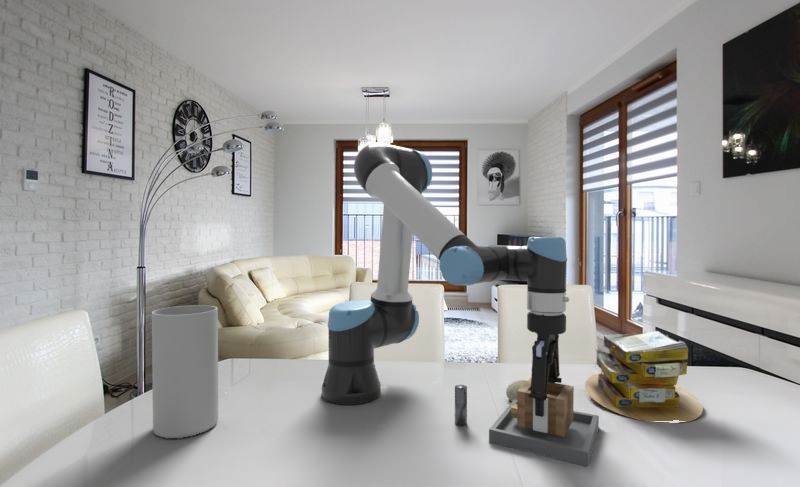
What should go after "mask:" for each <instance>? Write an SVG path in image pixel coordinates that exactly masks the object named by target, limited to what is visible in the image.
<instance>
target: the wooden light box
mask: <svg viewBox="0 0 800 487" xmlns="http://www.w3.org/2000/svg"><path fill="white" fill-rule="evenodd" d="M574 388H575V386H574V385H569V384H564V383H557V382H555V383H553V382H548V389H547V398H548V433H551V434H555V435H559V436H563V437H564V436H565V434H566V432H567V430H568V428H569V427H570V425H571V423H572V421H573V411H574V399H575V398H574V396H575V395H574V392H575V391H574ZM530 393H531V378H529V379H527V382H526V383H525V384H524V385H523V386H522V387H521V388H520V389H519V390H518V391H517V404H514V405H513V406H512V407H511V417H514V418H517V425H518V426H522V427H526V428H530V429H533V398H531V397H529V394H530ZM539 393H540V392H539Z"/></svg>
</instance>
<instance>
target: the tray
mask: <svg viewBox="0 0 800 487" xmlns="http://www.w3.org/2000/svg"><path fill="white" fill-rule="evenodd" d="M514 404H517V400H515V399H514V400H513V401H511V402H510V403H509V405H508V406H507V407H506V408H505V410H504V411H503V412H502V413H501V414H500V416H499V417H498V418H497V419H496V420H495V421H494V422H493V423H492V425H491V426H490V428H488V442H489V443H492V444H496V445H500V446H504V447H507V448H512V449H515V450H519V451H520V450H521V451H524V452H528V453H530V454H531V453H532V454H535V455H540V456H545V457H547V458H552V459H556V460H560V461H564V462H568V463H571V464H575V465H579V466H584V467H589V463H590V460H591V456H592V452H593V450H594V445H595V442H596V438H597V434H598V430H599V428H600V427H599V423H600V422H599V419H600V418H599V416H600V415H597V414H592V413H587V412H582V411H578V410H577V411H576V410H573V421H572V423H571V425H570V427H569V428H568V430H567V432H566V434H565V436H564V437H563V436H559V435H555V434H551V433H544V432H540V431H535V430H533V429H530V428H526V427H522V426H518V425H517V418H514V417H511V407H512V406H513V405H514Z"/></svg>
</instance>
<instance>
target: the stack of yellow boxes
mask: <svg viewBox="0 0 800 487" xmlns="http://www.w3.org/2000/svg"><path fill="white" fill-rule="evenodd" d="M603 347H605V348H606V349H608V352H605V351H601V350H597V349H595V351H596V363H595V365H597V366H598V368H600V371H601V372H598V373H594V374H593V375H591V376H589V377H588V378H587V379H586V380H585V382H584V387H585V390H586V392H587V394H588V395H589V396H590V398H591V399H593V400H594V401H595V402H596V403H597V404H599V405H601V406H602V407H604V408H605V409H607V410H610V411H612V412H614V413H617V414H619V415H622V416H625V417H627V418H630V419H633V420H634V419H635V418H637V419H635V420H638V421H642V420H643V422H648V421H649V422H648V423H651V422H650V421H673V420H679V421H686V422H685V423H688V422H691V421H695V420H696V419H698V418H699V417H700V416H701V415H702V414H703V405H702V403H701V401H700V400H699V399H698V398H697V396H696V395H694V394H693V393H692V392H691V391H689V390H688V389H686V388H684V387H683V386H681V385H679V384H678V379H679V376H683V375H687V371H688V362H686V361H685V360H688V359H689V356H688V355H689V347H688V346H687V344H686V343H685V341H677V340H676V339H674V338H671V337H670V336H667V335H666V334H664V333H661V332H660V331H659V330H654V331H649V332H644V333H643V332H638V333H635V332H634V333H627V334H626V333H625V334H621V333H620V334H619V333H618V334H605V335H604V336H603Z"/></svg>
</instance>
